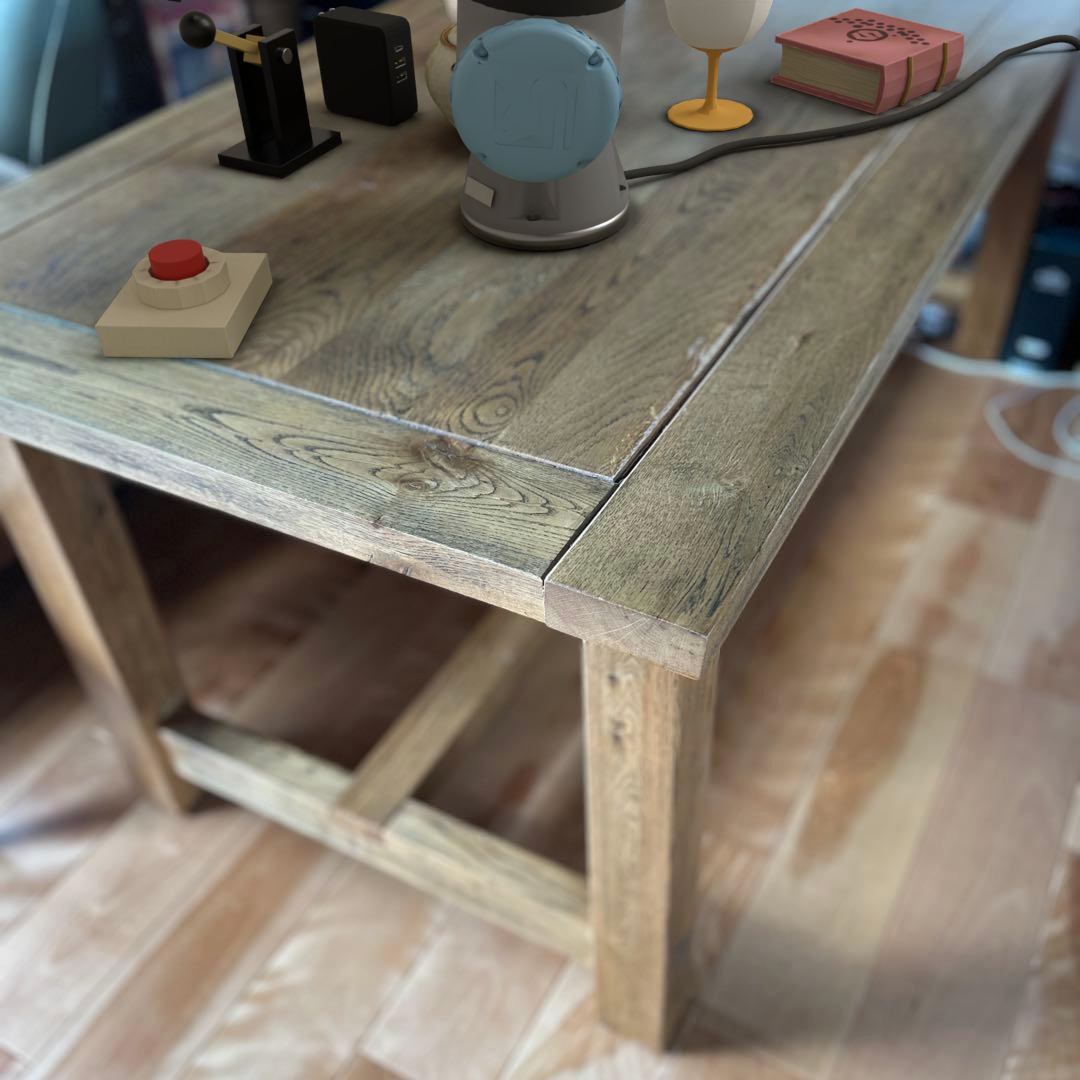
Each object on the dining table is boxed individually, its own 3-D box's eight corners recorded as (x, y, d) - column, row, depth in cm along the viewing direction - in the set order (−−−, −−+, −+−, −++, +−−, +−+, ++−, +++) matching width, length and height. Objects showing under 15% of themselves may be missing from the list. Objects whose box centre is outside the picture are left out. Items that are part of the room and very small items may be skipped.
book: (883, 116, 117) (891, 67, 113) (770, 82, 125) (775, 35, 122) (961, 82, 123) (971, 35, 120) (849, 52, 132) (855, 7, 129)
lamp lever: (196, 46, 98) (200, 7, 97) (169, 42, 99) (172, 3, 98) (283, 75, 108) (287, 40, 107) (257, 70, 109) (261, 36, 109)
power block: (156, 281, 93) (142, 231, 90) (273, 282, 93) (262, 232, 90) (104, 357, 84) (86, 304, 81) (232, 358, 84) (219, 305, 81)
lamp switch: (282, 178, 109) (259, 53, 101) (219, 165, 112) (192, 42, 104) (342, 143, 115) (324, 22, 108) (281, 131, 118) (260, 13, 111)
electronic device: (395, 127, 118) (383, 28, 112) (325, 110, 123) (310, 14, 116) (419, 115, 121) (409, 17, 114) (350, 99, 125) (337, 4, 119)
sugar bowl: (548, 179, 107) (544, 13, 97) (402, 167, 110) (384, 5, 100) (593, 107, 121) (594, -44, 111) (463, 98, 124) (453, -49, 115)
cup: (717, 89, 124) (729, -82, 113) (788, 119, 117) (809, -61, 106) (632, 112, 120) (636, -64, 109) (701, 145, 112) (713, -40, 101)
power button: (163, 259, 87) (158, 238, 86) (213, 259, 87) (208, 238, 86) (146, 283, 84) (140, 262, 83) (197, 284, 84) (192, 262, 83)
